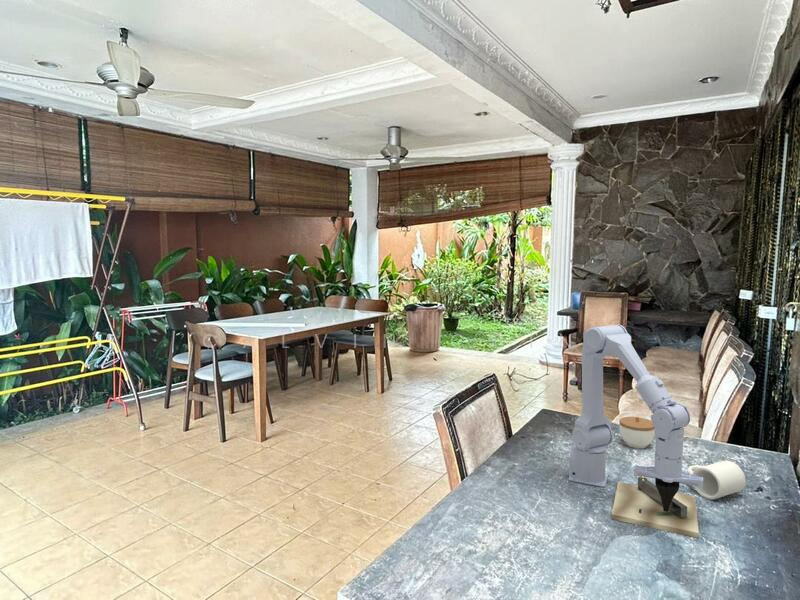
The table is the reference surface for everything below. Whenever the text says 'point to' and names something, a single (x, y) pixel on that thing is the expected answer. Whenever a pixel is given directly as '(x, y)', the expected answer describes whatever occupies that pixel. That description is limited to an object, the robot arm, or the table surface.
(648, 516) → the board
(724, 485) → the mug
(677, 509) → the pointer
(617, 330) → the robot arm
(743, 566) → the table surface
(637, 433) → the lidded jar
